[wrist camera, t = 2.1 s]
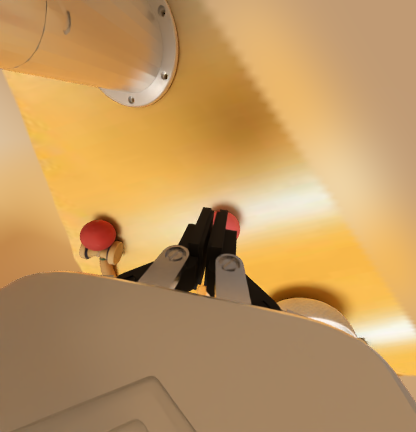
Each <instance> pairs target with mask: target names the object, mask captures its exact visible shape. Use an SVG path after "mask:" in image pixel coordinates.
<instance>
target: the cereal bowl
mask: <svg viewBox="0 0 416 432" xmlns="http://www.w3.org/2000/svg"><path fill="white" fill-rule="evenodd" d="M277 304H278V305H279V307H280V308H281V309H282V310H284V311H286V309H288V310H291V311H293V312H296V313H298V314H301V315H303V316H306V317H308V318H311V319H314V320H318V321H321V322H324V323H326V324H329V325H331V326H333V327H336V328H338V329H340V330H342V331H344V332H346V333H348V334H350V335H352V336H354V337H356V338H357V336H356V334H355V332H354V330H353V328H352V326H351V325H350V323H349V322H348V321H347V319H346V318H345V317H344V316H343V315H342V314H341V313H340V312H339V311H338V310H337V309H335V308H334V307H332V306H330V305H328V304H326V303H324V302H322V301H319V300H314V299H310V298H290V299H286V300H282V301H279V302H277Z"/></svg>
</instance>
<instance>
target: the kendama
mask: <svg viewBox="0 0 416 432" xmlns="http://www.w3.org/2000/svg"><path fill="white" fill-rule="evenodd" d="M115 238H116V231H115V229H114V227H113V226H112V225H111V224H110V223H109V222H107V221H104V220H95V221H91V222H89V223H87V224H86V225H85V226H84V227H83V228H82V230H81V233H80V240H81V242H82V244H81V247H80V252H79V253H80V257H81V258H84V259H89V258H91V257H93V256H97V257H99V256H100V267H101V272H102V275H115V277H117V276H116V273H115V271H114V269H113V266H112V264H113V265H116V264H117V263H118V262H119V261H120V259H121V256H122V253H123V243H122V242H119V241H115ZM114 241H115V242H114Z"/></svg>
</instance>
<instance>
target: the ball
mask: <svg viewBox="0 0 416 432" xmlns="http://www.w3.org/2000/svg"><path fill="white" fill-rule="evenodd" d="M219 212H220V211H219ZM216 213H217V211H216V212H214V219H213V224H214V220H215V217H216ZM226 229H228V230H235V231H237V238H238V236H239V233H240V226H239V223H238V220H237V219H236V217H235V216H234V215H232V214H231V213H229V212H228V216H227V223H226Z"/></svg>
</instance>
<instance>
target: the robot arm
mask: <svg viewBox="0 0 416 432" xmlns="http://www.w3.org/2000/svg"><path fill="white" fill-rule="evenodd" d="M164 12H165V15H164V16H163V13H164ZM177 63H178V37H177V31H176V26H175V22H174V19H173V16H172V13H171V10H170V8H169V5H168V4H167V2H166V0H0V69H3V70H8V71H14V72H19V73H25V74H30V75H35V76H41V77H46V78H51V79H57V80H62V81H68V82H73V83H78V84H84V85H89V86H94V87H98V88H99V89H100V90H101V91H102V92H103V93H104V94H105V95H107V96H108V97H109V98H111V99H112V100H113V101H115V102H117V103H120V104H122V105H125V106H129V107H146V106H148V105H151V104H153V103H155V102H156V101H158V100H159V99H161V97H162V96H163V95H164V94H165V93H166V92H167V90H168V89H169V87H170V85H171V83H172V81H173V78H174V76H175V72H176V68H177ZM166 75H168V78H167V79H166V78H165V76H166ZM133 99H134V101H133ZM227 216H228V211H227V210H220V212H219V211H217V213H216V217H215V220H214V224H213V219H214V211H212V210H211V208H205V207H203V209H202V212H201V214H200V216H199V219H198V221H197V223H196V225H195V224H189V225H188V226H187V228H186V230H185V232H184V234H183V236H182V238H181V240H180V242H179V244H178V245H173V246H169V247H167V248H166V249H165V250H163V252H162V253H161V254H160V255H159V256H158V258H157V259H156V260H155V261H154V262H151V263H148V264H146V265H143V266H141V267H138V268H135V269H133V270H130V271H128V272H125V273H123V274H121V275H119V276H118V277H115V275H95V274H89V273H82V272H72V271H51V272H43V273H37V274H32V275H28V276H25V277H22V278H20V279H17V280H15V281H14V282H11V283H10V284H8V285H6V286H4V287H3V288H1V289H0V432H416V402H415V400H414V398H413V397H412V396H411V394H410V393H409V391H408V390H407V388H406V387H405V385H404V384H403V383H402V381H401V380H400V378H399V377H398V376H397V374H396V373H395V372H394V370H393V369H392V368H391V367H390V366H389V364H388V363H387V362H386V361H385V360H384V359H383V358H382V357H381V356H380V355H379V354H378V353H377V352H376V351H375V350H373V349H372V348H371V347H369V346H368V345H367V344H365V343H364V342H362V341H361V340H359V339H357V338H356V337H354V336H352V335H350V334H348V333H346V332H344V331H342V330H340V329H338V328H336V327H333V326H331V325H329V324H326V323H324V322H321V321H318V320H314V319H311V318H308V317H306V316H303V315H301V314H298V313H296V312H293V311H291V310H288V309H286V311H284V310H282V309H281V308H280V307H279V305H278V304H277V303H276V302H275V301H274V300H273V299H272V298H271V297H270V296H268V295H267V294H266V293H265V292H264V291H263V290H262V289H261V288H260V287H259V286H258V285H257V284H256V283H254V282H253V281H252V280H251V279H250V278H249V277H248V276H247V275H246V274H245V270H244V265H243V262H242V260H241V259H240V258H239V257H237V256H236V240H237V231H235V230H228V229H226V223H227ZM205 267H206V268H205ZM204 271H205V280H204V286H206V292H207V293H208V294H209V295H210V296H205V295H200V294H195V293H190V292H189V291H191V290H193V289H194V290H196V289H197V285H198V284H199V285H201V283H202V279H203V275H204Z"/></svg>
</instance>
